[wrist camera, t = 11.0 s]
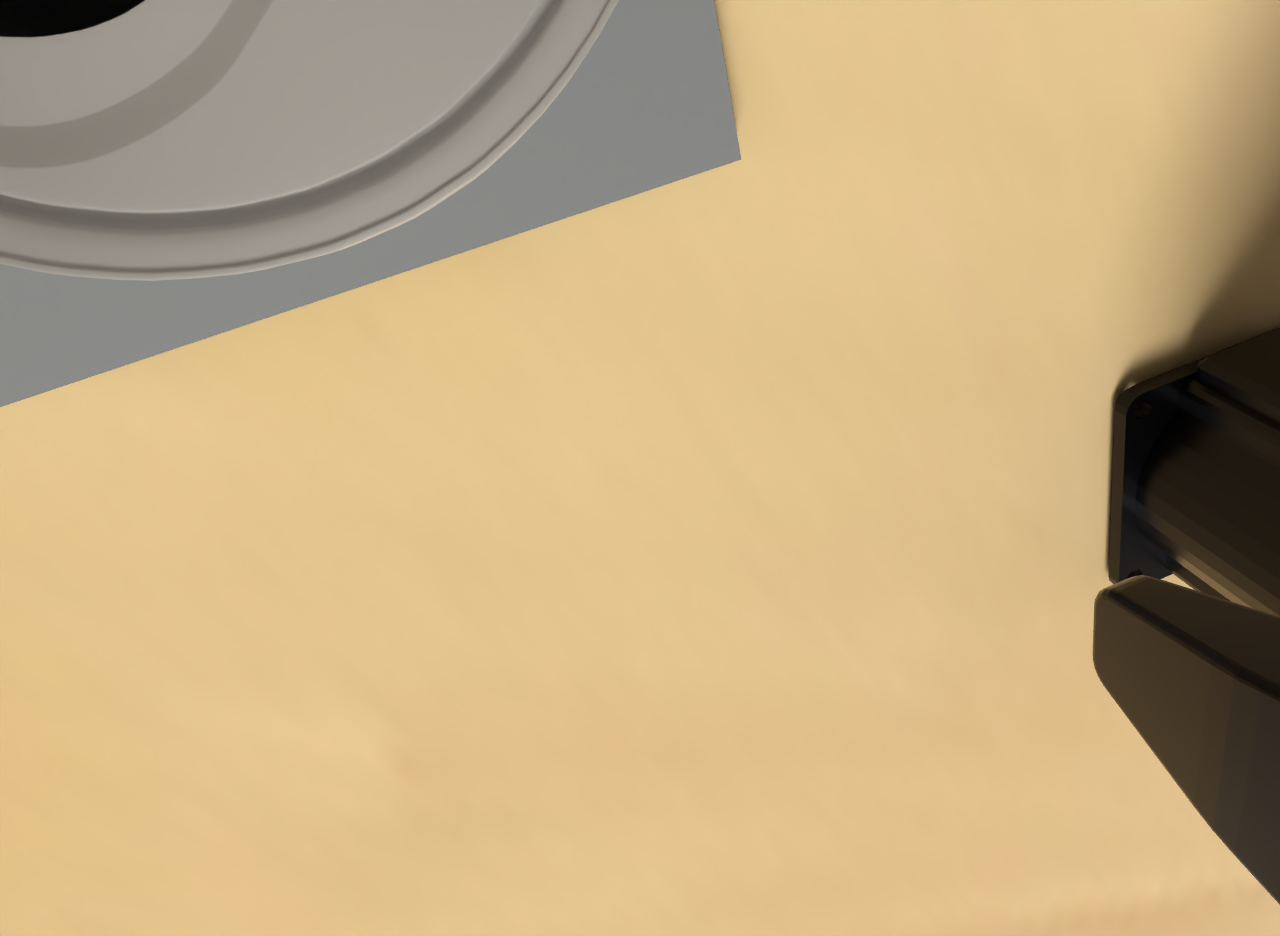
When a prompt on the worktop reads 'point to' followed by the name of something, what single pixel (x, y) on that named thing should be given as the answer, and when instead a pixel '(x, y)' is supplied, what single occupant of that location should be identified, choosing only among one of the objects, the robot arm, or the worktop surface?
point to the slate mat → (471, 217)
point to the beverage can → (257, 122)
